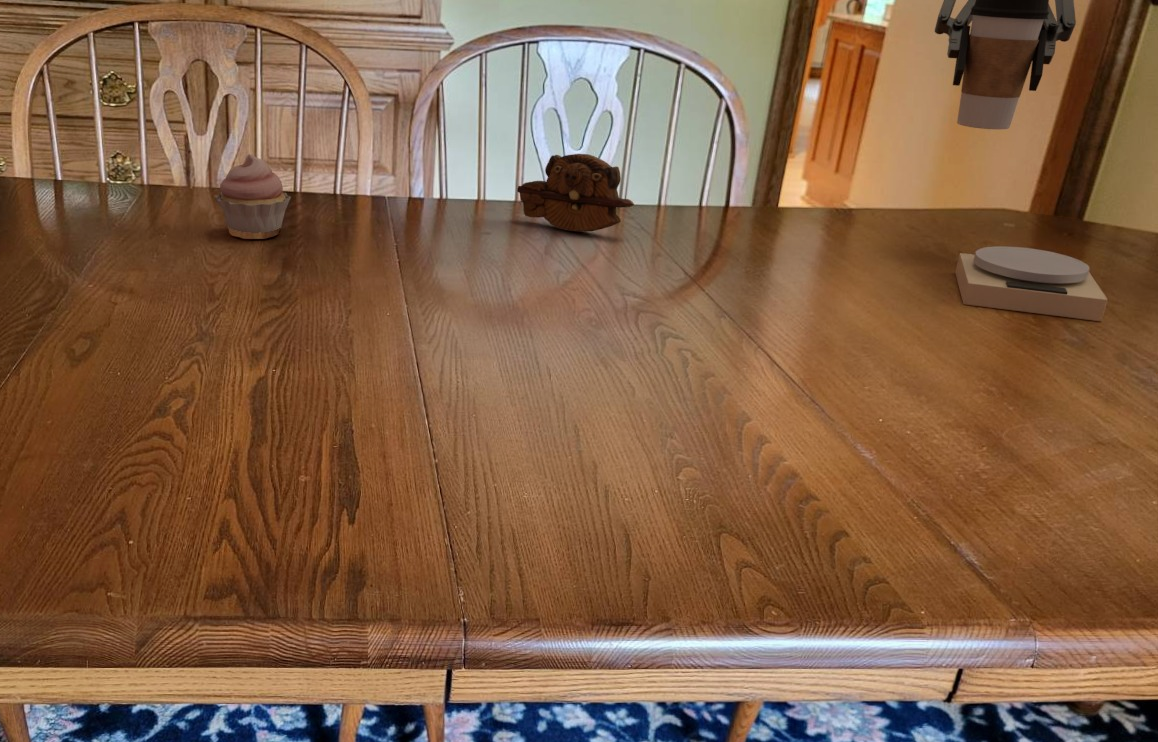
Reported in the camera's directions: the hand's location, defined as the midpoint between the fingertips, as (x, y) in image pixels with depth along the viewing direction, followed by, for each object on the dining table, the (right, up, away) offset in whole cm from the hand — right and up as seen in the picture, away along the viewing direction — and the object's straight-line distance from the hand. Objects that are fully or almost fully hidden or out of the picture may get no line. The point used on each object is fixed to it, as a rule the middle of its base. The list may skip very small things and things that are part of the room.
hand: (996, 80), depth 128 cm
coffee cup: (+1, -4, +5) cm, 7 cm away
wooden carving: (-48, -14, +19) cm, 53 cm away
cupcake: (-89, -16, +11) cm, 91 cm away
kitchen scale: (+3, -25, -1) cm, 25 cm away
